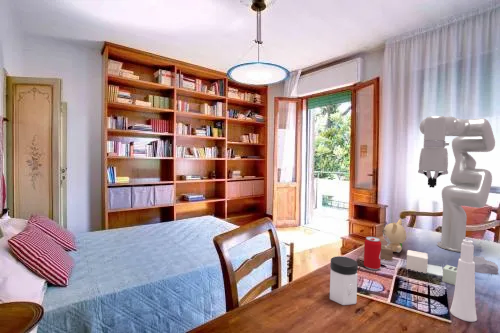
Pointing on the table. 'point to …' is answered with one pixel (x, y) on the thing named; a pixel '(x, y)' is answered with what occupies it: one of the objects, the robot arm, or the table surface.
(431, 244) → the table surface
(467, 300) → the cosmetic bottle
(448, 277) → the sage cube
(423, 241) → the table surface
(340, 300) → the jar
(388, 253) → the walnut cube
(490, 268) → the stone block
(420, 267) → the cream block
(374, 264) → the beverage can
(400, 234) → the kitten
